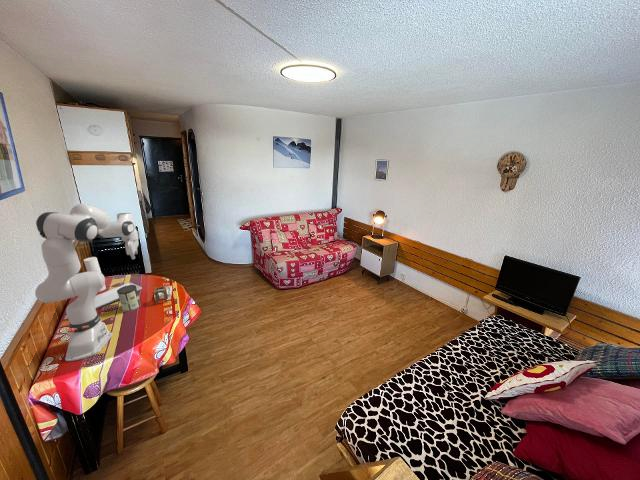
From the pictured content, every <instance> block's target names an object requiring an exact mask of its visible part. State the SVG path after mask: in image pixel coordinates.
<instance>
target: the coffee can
mask: <svg viewBox="0 0 640 480" xmlns="http://www.w3.org/2000/svg"><path fill="white" fill-rule="evenodd" d="M135 285H136V284H135ZM135 285H128V286H124V287H121V288H120V289H118V290H117V293H118V296H119V302H120V305H121V309H122V311H123V312H124V313H126V312H130V311H135V310H136V309H138V308H140V306H141V305H142V304H141V303H142V302H141V300H140V297H139V293H138V292H139V291H138V292H137V288H136V286H135Z"/></svg>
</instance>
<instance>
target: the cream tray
mask: <svg viewBox="0 0 640 480" xmlns="http://www.w3.org/2000/svg"><path fill="white" fill-rule="evenodd" d="M161 290H163V289H161ZM158 291H159V290H158ZM166 291H167V295H168V298H171V297H172V293H173V286H172V285H169V286H166ZM158 294H159V298H160V300H161V299H165V298H164V294H161V293H158ZM153 298H154V300H155V301H156V298H155V294H154V296H153Z"/></svg>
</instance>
